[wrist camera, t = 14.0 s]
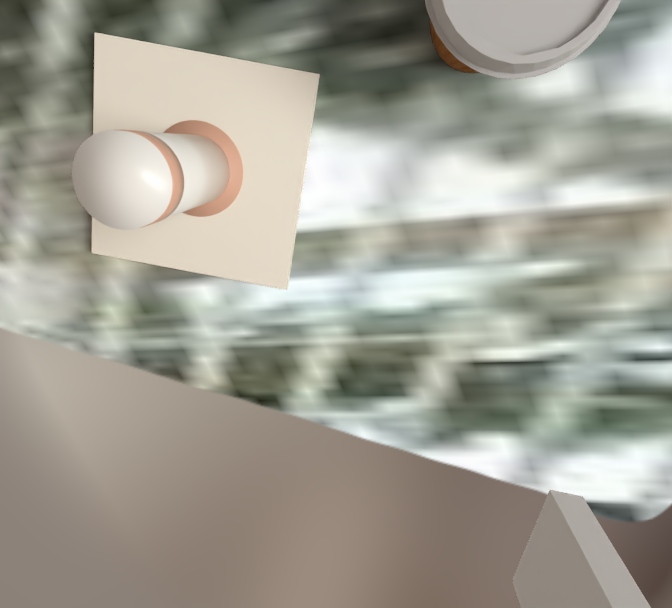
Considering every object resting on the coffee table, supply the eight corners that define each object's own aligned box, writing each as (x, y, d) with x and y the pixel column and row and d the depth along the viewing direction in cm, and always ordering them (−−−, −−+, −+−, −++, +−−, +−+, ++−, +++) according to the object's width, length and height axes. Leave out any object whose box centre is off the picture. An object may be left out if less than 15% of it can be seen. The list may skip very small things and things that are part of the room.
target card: (99, 34, 35) (94, 32, 34) (319, 75, 34) (318, 74, 34) (95, 251, 40) (91, 253, 39) (287, 287, 40) (286, 289, 39)
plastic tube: (165, 128, 36) (70, 120, 24) (233, 140, 36) (170, 139, 24) (161, 197, 37) (70, 221, 26) (226, 209, 37) (164, 238, 26)
